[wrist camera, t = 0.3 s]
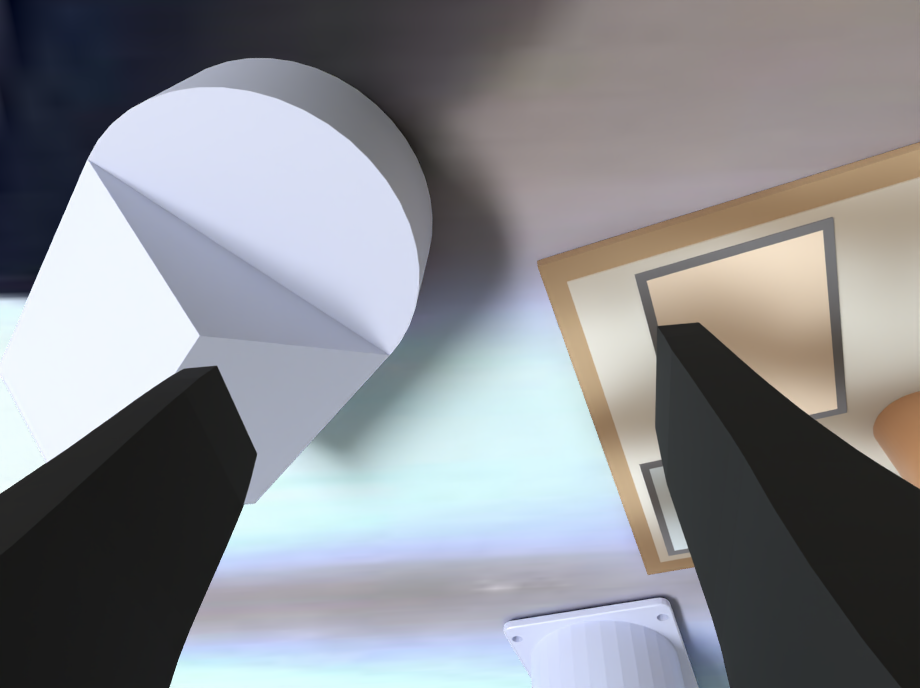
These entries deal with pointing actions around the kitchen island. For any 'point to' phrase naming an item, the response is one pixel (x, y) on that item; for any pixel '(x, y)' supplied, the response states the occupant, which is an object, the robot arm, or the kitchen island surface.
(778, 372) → the cream board
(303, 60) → the kitchen island surface
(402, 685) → the kitchen island surface
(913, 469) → the marker
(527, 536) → the kitchen island surface
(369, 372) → the wedge on round base
